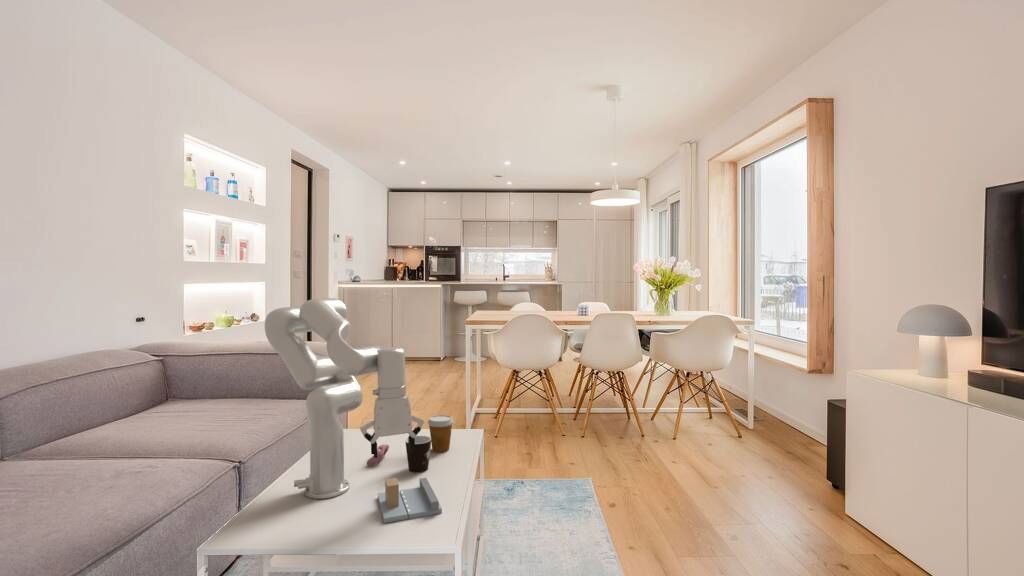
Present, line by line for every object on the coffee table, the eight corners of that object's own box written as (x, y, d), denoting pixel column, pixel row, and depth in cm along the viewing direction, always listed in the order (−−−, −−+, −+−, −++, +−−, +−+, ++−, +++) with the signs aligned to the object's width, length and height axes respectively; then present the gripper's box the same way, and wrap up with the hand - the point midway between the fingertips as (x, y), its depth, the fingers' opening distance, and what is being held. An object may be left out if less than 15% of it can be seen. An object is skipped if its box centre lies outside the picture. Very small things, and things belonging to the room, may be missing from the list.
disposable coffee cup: (458, 448, 182) (458, 416, 182) (442, 456, 174) (442, 423, 174) (438, 444, 187) (438, 413, 187) (422, 451, 179) (422, 419, 179)
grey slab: (384, 522, 125) (384, 495, 125) (377, 497, 140) (377, 472, 140) (407, 518, 127) (407, 491, 127) (398, 494, 142) (398, 470, 142)
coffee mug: (417, 476, 156) (417, 445, 156) (400, 470, 161) (399, 440, 161) (443, 465, 165) (443, 436, 165) (425, 460, 170) (425, 431, 170)
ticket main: (408, 519, 127) (408, 506, 127) (399, 493, 143) (399, 481, 143) (442, 513, 130) (442, 500, 130) (429, 488, 146) (429, 477, 146)
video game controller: (376, 471, 164) (385, 453, 164) (364, 465, 164) (373, 447, 164) (384, 460, 174) (393, 443, 174) (373, 455, 174) (382, 438, 174)
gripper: (360, 398, 127) (361, 463, 127) (425, 391, 133) (427, 453, 133) (358, 392, 134) (359, 454, 134) (420, 386, 140) (421, 445, 140)
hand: (393, 453), depth 133 cm, fingers open, 9 cm apart
